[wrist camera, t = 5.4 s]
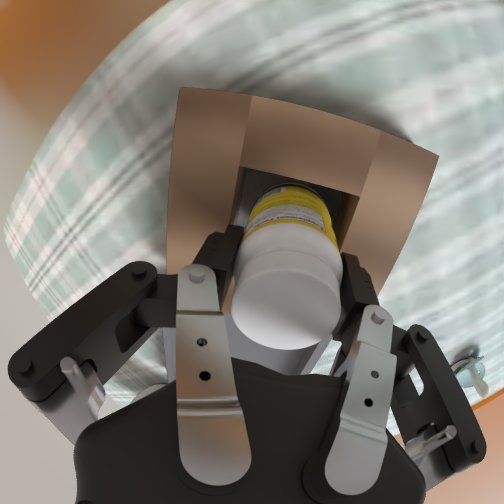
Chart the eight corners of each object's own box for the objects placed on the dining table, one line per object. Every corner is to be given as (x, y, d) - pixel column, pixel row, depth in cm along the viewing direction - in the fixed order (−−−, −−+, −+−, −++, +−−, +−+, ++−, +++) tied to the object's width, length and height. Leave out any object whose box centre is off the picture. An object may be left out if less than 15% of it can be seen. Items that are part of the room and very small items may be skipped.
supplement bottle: (316, 258, 18) (323, 364, 11) (246, 242, 18) (214, 343, 11) (338, 190, 15) (373, 278, 8) (259, 172, 15) (226, 245, 8)
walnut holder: (201, 88, 14) (179, 87, 11) (414, 144, 14) (439, 156, 11) (182, 269, 22) (166, 296, 19) (346, 307, 22) (351, 338, 19)
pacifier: (448, 384, 27) (482, 365, 25) (457, 419, 22) (494, 400, 20) (441, 365, 25) (480, 343, 22) (452, 406, 20) (495, 382, 17)
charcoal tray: (171, 275, 22) (160, 294, 20) (331, 313, 22) (333, 334, 20) (174, 372, 31) (168, 388, 29) (282, 397, 31) (281, 414, 29)
